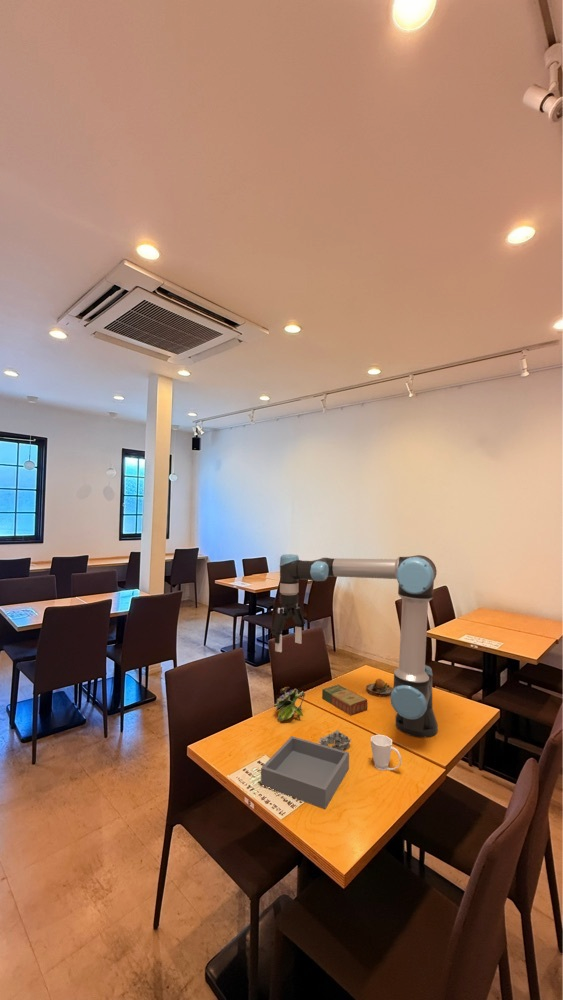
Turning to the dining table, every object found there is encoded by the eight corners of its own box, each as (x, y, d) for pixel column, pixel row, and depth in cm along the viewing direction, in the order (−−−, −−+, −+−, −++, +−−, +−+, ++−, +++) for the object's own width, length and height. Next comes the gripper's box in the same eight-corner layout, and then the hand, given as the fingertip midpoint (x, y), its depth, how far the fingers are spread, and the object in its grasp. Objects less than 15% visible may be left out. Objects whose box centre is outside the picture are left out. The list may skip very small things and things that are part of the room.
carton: (350, 717, 161) (350, 704, 162) (321, 699, 177) (321, 688, 177) (367, 711, 167) (367, 698, 167) (338, 694, 182) (338, 683, 182)
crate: (349, 769, 127) (349, 752, 127) (325, 809, 109) (325, 789, 110) (291, 751, 136) (291, 736, 137) (260, 785, 119) (261, 768, 119)
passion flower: (283, 727, 164) (291, 691, 172) (308, 731, 157) (315, 694, 165) (265, 717, 157) (273, 681, 165) (290, 721, 150) (298, 683, 158)
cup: (376, 757, 134) (376, 731, 134) (405, 769, 127) (405, 743, 128) (365, 766, 128) (366, 740, 129) (395, 780, 122) (395, 752, 122)
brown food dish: (395, 689, 188) (395, 673, 188) (391, 699, 177) (391, 682, 177) (369, 685, 193) (369, 668, 193) (363, 694, 182) (363, 677, 182)
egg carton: (332, 759, 133) (332, 746, 133) (316, 749, 138) (316, 737, 138) (353, 748, 139) (353, 736, 139) (337, 739, 145) (337, 727, 145)
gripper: (298, 588, 176) (298, 638, 175) (262, 596, 156) (261, 653, 155) (313, 590, 172) (313, 641, 171) (277, 599, 152) (277, 657, 151)
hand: (288, 647), depth 163 cm, fingers open, 13 cm apart
